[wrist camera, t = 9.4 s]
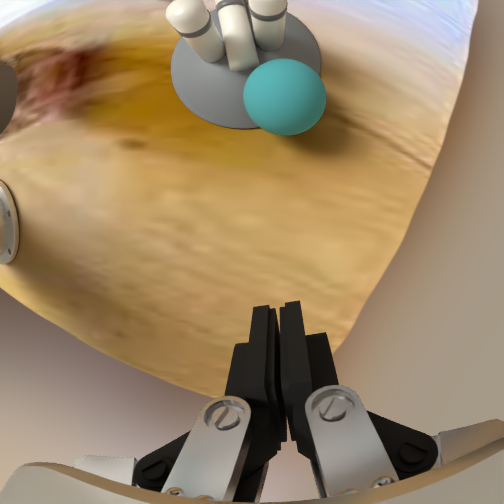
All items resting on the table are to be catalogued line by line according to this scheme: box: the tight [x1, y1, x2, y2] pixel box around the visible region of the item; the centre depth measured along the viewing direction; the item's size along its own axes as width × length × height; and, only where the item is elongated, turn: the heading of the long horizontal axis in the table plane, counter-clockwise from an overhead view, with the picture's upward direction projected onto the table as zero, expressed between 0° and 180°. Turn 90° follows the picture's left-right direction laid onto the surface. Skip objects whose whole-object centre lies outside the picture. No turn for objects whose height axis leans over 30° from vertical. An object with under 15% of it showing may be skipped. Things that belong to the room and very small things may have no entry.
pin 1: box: [166, 0, 226, 63], centre depth 15 cm, size 2×2×8 cm
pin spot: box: [171, 3, 321, 129], centre depth 19 cm, size 13×13×1 cm
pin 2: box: [248, 0, 287, 51], centre depth 14 cm, size 2×2×8 cm
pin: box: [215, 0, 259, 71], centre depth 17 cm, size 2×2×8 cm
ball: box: [243, 59, 326, 136], centre depth 17 cm, size 6×6×6 cm
